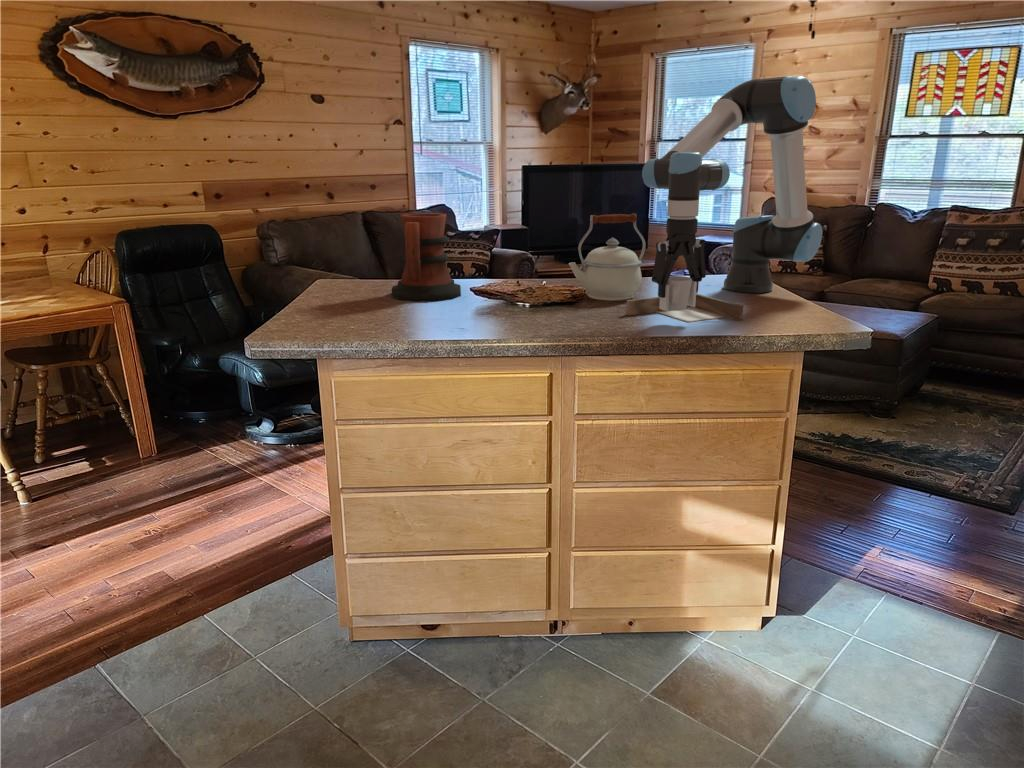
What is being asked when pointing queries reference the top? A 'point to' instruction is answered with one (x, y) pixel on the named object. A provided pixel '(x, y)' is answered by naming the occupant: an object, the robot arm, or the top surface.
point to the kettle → (610, 265)
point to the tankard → (425, 261)
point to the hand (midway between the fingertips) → (677, 307)
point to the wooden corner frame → (689, 309)
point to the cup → (679, 292)
